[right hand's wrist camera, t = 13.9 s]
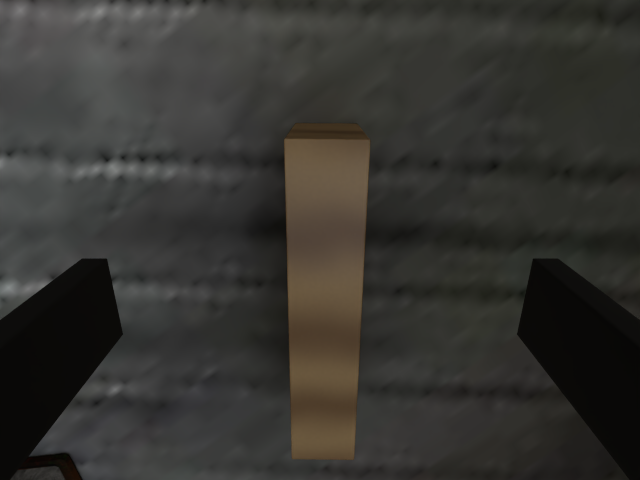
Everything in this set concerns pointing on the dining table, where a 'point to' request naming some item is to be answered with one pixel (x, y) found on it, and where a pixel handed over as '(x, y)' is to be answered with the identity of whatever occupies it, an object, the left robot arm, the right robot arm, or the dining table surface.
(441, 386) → the dining table surface
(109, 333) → the right robot arm
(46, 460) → the antique gramophone
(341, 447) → the bar
